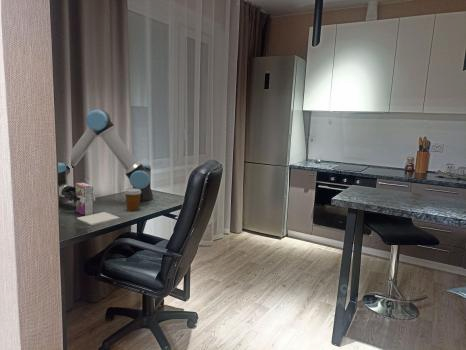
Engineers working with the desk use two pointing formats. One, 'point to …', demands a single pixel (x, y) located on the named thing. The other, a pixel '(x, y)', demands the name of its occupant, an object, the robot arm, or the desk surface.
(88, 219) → the rubber mat
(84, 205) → the candy bar box
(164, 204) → the desk surface
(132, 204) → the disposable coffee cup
